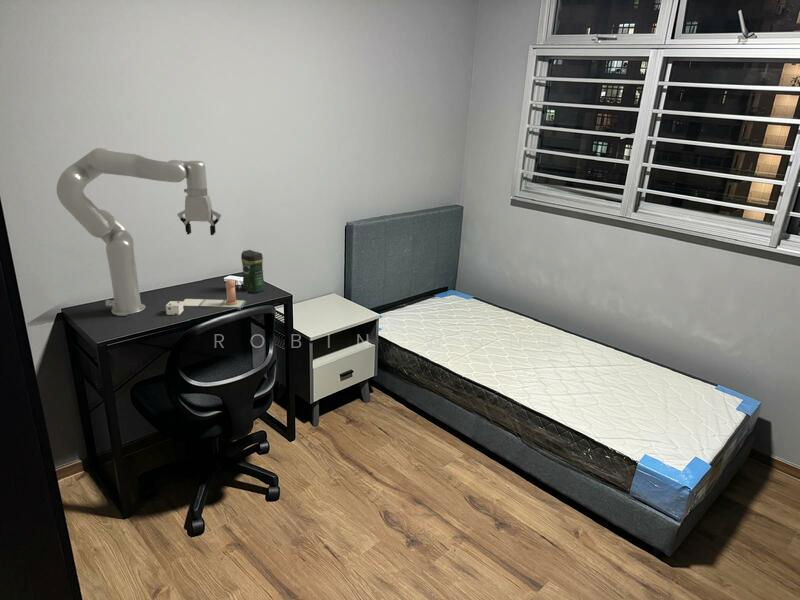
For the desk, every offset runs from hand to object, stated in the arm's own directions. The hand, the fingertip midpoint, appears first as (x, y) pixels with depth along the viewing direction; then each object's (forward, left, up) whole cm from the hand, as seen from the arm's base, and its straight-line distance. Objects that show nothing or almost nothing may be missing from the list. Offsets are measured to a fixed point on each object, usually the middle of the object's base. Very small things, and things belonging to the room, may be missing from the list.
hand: (200, 234), depth 231 cm
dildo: (+11, -3, -29) cm, 31 cm away
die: (-8, -15, -30) cm, 35 cm away
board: (+3, -3, -30) cm, 30 cm away
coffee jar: (+16, +18, -30) cm, 39 cm away
